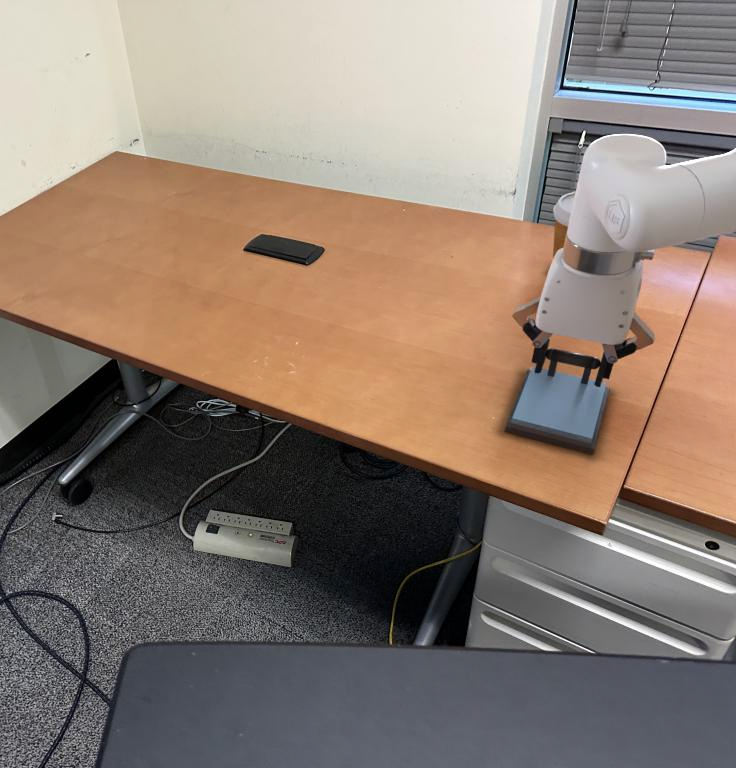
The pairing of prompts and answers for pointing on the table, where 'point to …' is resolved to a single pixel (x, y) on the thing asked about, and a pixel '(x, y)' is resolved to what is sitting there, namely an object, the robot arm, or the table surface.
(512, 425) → the dark rectangular box base
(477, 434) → the table surface
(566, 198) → the disposable coffee cup
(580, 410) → the handled blue panel
